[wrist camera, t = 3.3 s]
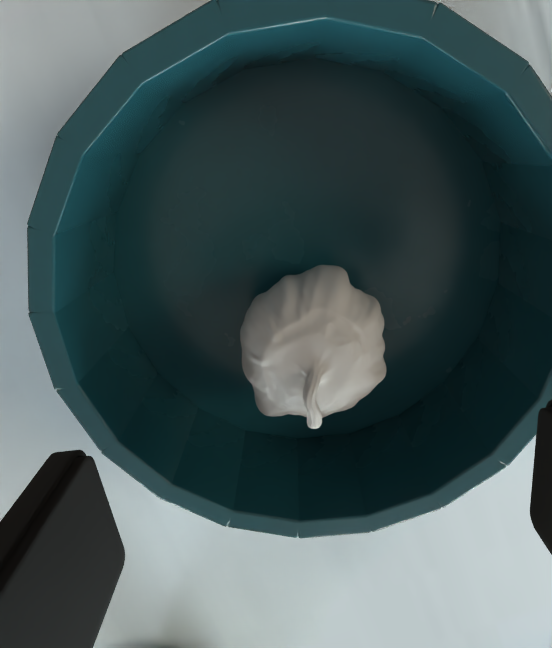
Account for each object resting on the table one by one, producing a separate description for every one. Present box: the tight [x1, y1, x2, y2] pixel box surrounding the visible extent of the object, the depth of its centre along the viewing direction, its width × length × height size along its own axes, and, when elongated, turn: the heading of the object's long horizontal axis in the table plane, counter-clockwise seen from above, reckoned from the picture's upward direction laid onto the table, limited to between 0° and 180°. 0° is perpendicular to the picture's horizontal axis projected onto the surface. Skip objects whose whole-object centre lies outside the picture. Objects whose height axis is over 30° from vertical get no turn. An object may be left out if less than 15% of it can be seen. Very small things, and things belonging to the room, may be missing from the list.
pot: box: [27, 0, 552, 538], centre depth 16 cm, size 17×17×6 cm
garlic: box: [240, 265, 386, 429], centre depth 16 cm, size 6×5×5 cm
